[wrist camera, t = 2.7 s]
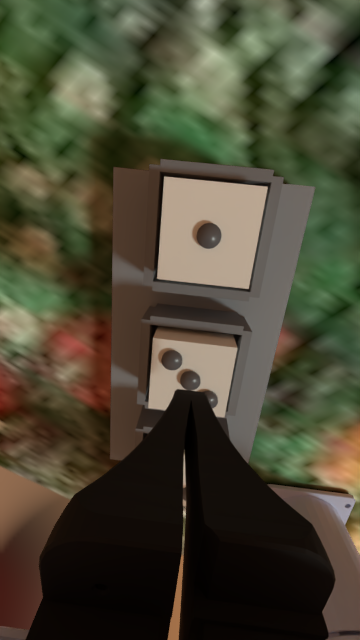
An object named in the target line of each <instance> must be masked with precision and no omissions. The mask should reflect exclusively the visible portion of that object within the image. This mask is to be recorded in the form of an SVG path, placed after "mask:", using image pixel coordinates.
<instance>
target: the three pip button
mask: <svg viewBox="0 0 360 640" xmlns="http://www.w3.org/2000/svg"><path fill="white" fill-rule="evenodd" d="M236 353H237V345H236V342H235V339H234V336H233V335H232V334H223V333H214V332H205V331H197V330H188V329H179V328H170V327H162V326H158V327H157V330H156V332H155V334H154V337H153V345H152V360H151V374H150V388H149V403H148V408H151V409H160V410H166V409H167V407H168V405H169V404H170V402H171V400H172V398H173V395H174V392H175V390H177V389H182V390H191V391H199V392H205V394H206V395H207V398H208V400H209V403H210V405H211V407H212V409H213V411H214V413H215V415H216V417H225V412H226V406H227V401H228V396H229V390H230V385H231V380H232V375H233V369H234V364H235V359H236Z"/></svg>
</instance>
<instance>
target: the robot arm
mask: <svg viewBox="0 0 360 640" xmlns="http://www.w3.org/2000/svg"><path fill="white" fill-rule="evenodd" d="M184 449H185V478H186V525H185V544H184V562H183V580H182V596H181V613H180V629H179V640H360V555H359V553H358V551H357V549H356V547H355V545H354V543H353V541H352V539H351V537H350V535H349V533H348V531H347V529H346V527H345V524H346V521H347V519H348V517H349V515H350V513H351V510H352V508H353V506H354V504H355V499H354V497H353V496H352V495H350V494H343V493H336V492H328V491H320V490H312V489H305V488H297V487H289V486H282V485H274V484H266V483H265V482H264V481H263V480H262V479H261V478H260V477H259V475H258V474H257V473H256V472H255V471H254V470H253V469H252V468H251V467H250V466H249V464H248V463H247V462H246V461H245V460H244V458H243V457H242V456H241V454H240V453H239V452H238V451H237V449H236V448H235V446H234V445H233V443H232V442H231V441H230V439H229V437H228V436H227V434H226V433H225V431H224V430H223V428H222V426H221V424H220V423H219V421H218V419H217V417H216V415H215V413H214V411H213V409H212V407H211V405H210V403H209V400H208V398H207V395H206V394H205V392H199V391H191V390H182V389H177V390H175V392H174V395H173V398H172V400H171V402H170V404H169V405H168V407H167V409H166V410H165V412H164V413H163V415H162V417H161V418H160V419H159V421H158V422H157V423H156V425H155V426H154V427H153V429H152V430H151V431H150V432H149V434H148V435H147V436H146V437H145V438H144V439H143V440H142V441H141V442H140V444H139V445H138V446H137V447H136V448H135V449H134V450H133V451H131V452H130V453H129V454H128V455H127V456H126V457H125V458H124V459H123V460H122V461H121V462H119V463H118V464H117V465H116V466H114V467H113V468H112V469H111V470H109V471H108V472H107V473H106V474H104V475H103V476H102V477H100V478H99V479H97V480H96V481H94V482H93V483H91V484H90V485H88V486H87V487H85V488H84V489H82V490H81V491H79V492H78V493H76V494H75V495H74V496H73V498H72V499H71V501H70V502H69V503H68V505H67V506H66V508H65V509H64V511H63V513H62V514H61V516H60V518H59V519H58V521H57V523H56V524H55V526H54V528H53V530H52V532H51V534H50V536H49V538H48V541H47V543H46V545H45V547H44V549H43V551H42V553H41V555H40V561H39V570H40V577H41V585H42V593H43V599H42V601H41V604H40V606H39V608H38V611H37V613H36V616H35V618H34V620H33V623H32V625H31V628H30V630H25V629H18V628H11V627H4V626H0V640H167V639H168V633H169V626H170V619H171V617H172V611H173V605H174V598H175V592H176V585H177V579H178V572H179V566H180V559H181V553H182V535H183V465H184Z"/></svg>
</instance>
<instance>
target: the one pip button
mask: <svg viewBox="0 0 360 640" xmlns="http://www.w3.org/2000/svg"><path fill="white" fill-rule="evenodd" d="M267 189H268V187H266V186H255V185H245V184H235V183H225V182H215V181H205V180H195V179H185V178H174V177H164V187H163V201H162V216H161V230H160V245H159V259H158V273H157V279H162V280H171V281H180V282H189V283H198V284H207V285H216V286H226V287H235V288H244V289H249V284H250V279H251V274H252V268H253V263H254V258H255V253H256V247H257V242H258V237H259V231H260V226H261V221H262V215H263V210H264V205H265V200H266V194H267Z"/></svg>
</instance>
